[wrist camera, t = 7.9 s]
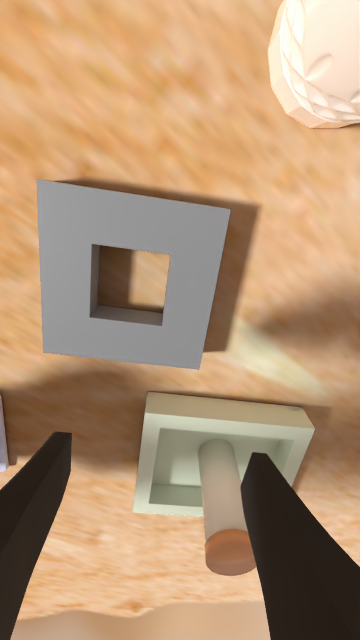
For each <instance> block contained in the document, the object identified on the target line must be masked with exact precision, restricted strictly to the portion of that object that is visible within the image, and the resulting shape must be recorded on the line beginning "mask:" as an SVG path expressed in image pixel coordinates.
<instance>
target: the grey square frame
mask: <svg viewBox="0 0 360 640" xmlns="http://www.w3.org/2000/svg"><path fill="white" fill-rule="evenodd" d="M37 202H38V228H39V254H40V279H41V305H42V331H43V353H51V354H60V355H69V356H78V357H87V358H97V359H106V360H115V361H124V362H133V363H143V364H152V365H161V366H170V367H179V368H189V369H198V370H199V368H200V363H201V358H202V353H203V348H204V343H205V338H206V333H207V328H208V323H209V318H210V313H211V308H212V303H213V298H214V293H215V288H216V283H217V277H218V272H219V267H220V262H221V257H222V252H223V247H224V242H225V237H226V232H227V227H228V222H229V217H230V212H231V209H227V208H223V207H217V206H210V205H204V204H197V203H191V202H184V201H178V200H172V199H165V198H159V197H152V196H146V195H139V194H133V193H126V192H120V191H113V190H107V189H101V188H94V187H88V186H81V185H75V184H68V183H62V182H55V181H47V180H37ZM100 245H104V246H111V247H118V248H126V249H133V250H140V251H147V252H154V253H161V254H169V255H170V263H169V271H168V278H167V286H166V293H165V301H164V309H163V313H160V312H151V311H143V310H135V309H127V308H119V307H111V306H103V305H98V285H99V260H100Z"/></svg>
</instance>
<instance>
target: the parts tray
mask: <svg viewBox="0 0 360 640" xmlns="http://www.w3.org/2000/svg"><path fill="white" fill-rule="evenodd" d="M314 431H315V428H314V426H313V424H312V423H311V421H310V420H309V418H308V416H307V415H306V413H305V411H304V410H303V408H302V407H295V406H285V405H275V404H266V403H256V402H246V401H236V400H226V399H216V398H206V397H196V396H186V395H177V394H167V393H157V392H147V399H146V407H145V415H144V423H143V431H142V439H141V447H140V455H139V464H138V472H137V480H136V488H135V496H134V505H133V512H135V513H150V514H164V515H179V516H194V517H203V506H202V495H201V484H200V473H199V462H198V450H199V448H200V446H201V445H202V444H204V443H205V442H207V441H210V440H214V439H220V440H224V441H227V442H229V443H230V444H231V445H232V447H233V449H234V453H235V457H236V462H237V466H238V470H239V475H240V479H241V483H242V480H243V477H244V474H245V472H246V469H247V466H248V463H249V460H250V457H251V454H252V452H258V453H267V454H268V456H269V457H270V459H271V460H272V461H273V463H274V464H275V465H276V467H277V468H278V470H279V471H280V472H281V474H282V475H283V477H284V478H285V479H286V481H287V482H288V483H289V485H290V486H291V487H292V484H293V482H294V479H295V477H296V475H297V472H298V470H299V467H300V465H301V462H302V460H303V458H304V455H305V453H306V450H307V448H308V446H309V443H310V441H311V438H312V436H313V433H314Z"/></svg>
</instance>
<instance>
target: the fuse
mask: <svg viewBox="0 0 360 640" xmlns="http://www.w3.org/2000/svg"><path fill="white" fill-rule="evenodd" d="M198 462H199V473H200V484H201V495H202V506H203V517H204V528H205V539H206V543H205V557H206V565H207V567H208V568H209V569H210V570H211V571H213V572H214V573H217V574H220V575H225V576H235V575H241V574H244V573H247V572H249V571H251V570H253V569H254V568H255V567H256V562H255V558H254V554H253V550H252V546H251V542H250V538H249V534H248V530H247V526H246V522H245V518H244V512H243V506H242V498H241V490H240V486H241V479H240V475H239V470H238V466H237V462H236V457H235V453H234V449H233V447H232V445H231V444H230V443H229V442H227V441H224V440H220V439H214V440H210V441H207V442H205V443H204V444H202V445H201V446H200V448H199V450H198Z"/></svg>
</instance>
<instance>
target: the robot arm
mask: <svg viewBox="0 0 360 640" xmlns="http://www.w3.org/2000/svg"><path fill="white" fill-rule="evenodd" d="M71 441H72V433H65V432H54V433H53V434H52V435H51V436H50V437H49V439H48V440H47V441H46V442H45V443H44V444H43V446H42V447H41V448H40V449H39V450H38V451H37V452H36V454H35V455H34V456H33V457H32V458H31V459H30V460H29V461H28V462H27V463H26V464H25V465H24V467H23V468H22V469H21V470H20V471H19V472H18V473H17V474H16V475H15V476H14V477H13V478H12V479H11V480H10V481H9V482H8V483H7V484H6V485H5V486H4V487H3V488H2V489H1V490H0V640H10V638H11V635H12V632H13V629H14V626H15V622H16V619H17V616H18V613H19V610H20V607H21V604H22V601H23V598H24V595H25V592H26V589H27V586H28V583H29V580H30V577H31V575H32V572H33V569H34V567H35V564H36V562H37V560H38V557H39V555H40V552H41V550H42V548H43V545H44V543H45V540H46V538H47V535H48V533H49V531H50V528H51V526H52V523H53V521H54V518H55V516H56V513H57V511H58V509H59V506H60V504H61V501H62V498H63V495H64V492H65V489H66V485H67V482H68V478H69V475H70V472H71ZM8 466H9V463H8V454H7V445H6V436H5V426H4V417H3V408H2V399H1V395H0V472H4V471H6V470H7V468H8ZM240 490H241V498H242V506H243V512H244V518H245V522H246V526H247V530H248V534H249V538H250V542H251V546H252V550H253V554H254V558H255V562H256V566H257V570H258V574H259V578H260V582H261V587H262V591H263V596H264V601H265V607H266V613H267V619H268V625H269V631H270V637H271V640H360V567H359V566H358V565H357V564H356V563H355V562H354V561H353V560H352V559H351V558H350V556H349V555H348V554H347V553H346V552H345V551H344V550H343V549H342V548H341V547H340V546H339V545H338V544H337V543H336V541H335V540H334V539H333V538H332V537H331V536H330V535H329V534H328V532H327V531H326V530H325V529H324V528H323V527H322V525H321V524H320V523H319V522H318V521H317V519H316V518H315V517H314V516H313V515H312V513H311V512H310V511H309V510H308V508H307V507H306V506H305V504H304V503H303V502H302V501H301V499H300V498H299V497H298V495H297V494H296V493H295V491H294V490H293V489H292V487H291V486H290V485H289V483H288V482H287V481H286V479H285V478H284V477H283V475H282V474H281V472H280V471H279V470H278V468H277V467H276V465H275V464H274V463H273V461H272V460H271V459H270V457H269V456H268V454H267V453H258V452H252V454H251V457H250V460H249V463H248V466H247V469H246V472H245V474H244V477H243V480H242V483H241V486H240Z"/></svg>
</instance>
